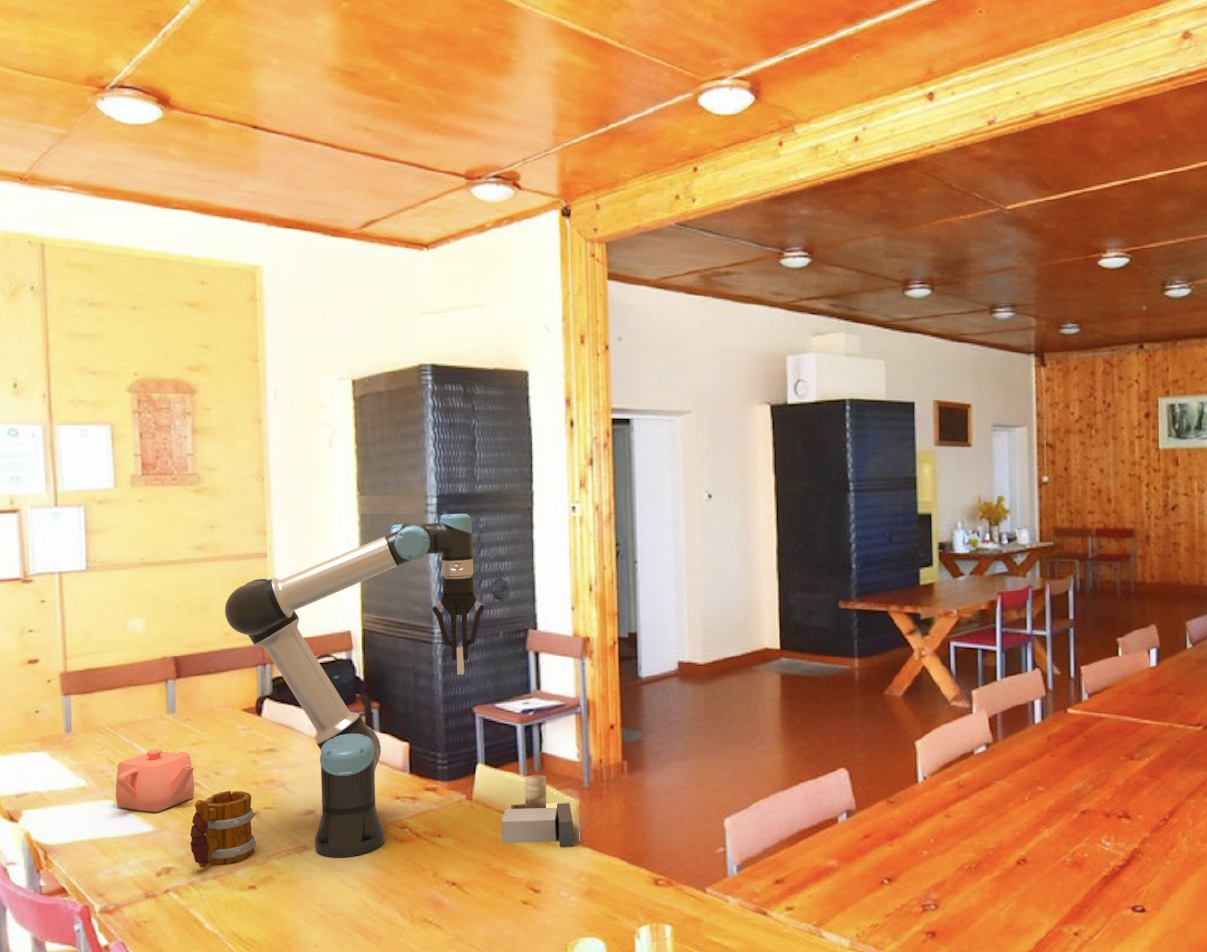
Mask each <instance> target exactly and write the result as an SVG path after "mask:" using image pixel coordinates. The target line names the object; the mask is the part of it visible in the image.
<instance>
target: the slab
mask: <svg viewBox="0 0 1207 952" xmlns="http://www.w3.org/2000/svg"><path fill="white" fill-rule="evenodd" d="M557 835H558V827H557V808H529V809H511V808H505V809H504V813H503V815H502V819H501V841H502V842H501V843H503V844H504V843H505V844H507V843H509V844H510V843H513V844H514V843H537V842H539V843H540V842H544V843H545V842H556V841H557Z"/></svg>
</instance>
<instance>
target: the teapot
mask: <svg viewBox="0 0 1207 952" xmlns="http://www.w3.org/2000/svg"><path fill="white" fill-rule="evenodd" d="M193 771H194V767H193V764H192V759H191V755H189V753H188V752H187V751H186V752H184V751H182V752H171V751H163V750H162V749H159V748H156V749H150V750H148V751H147V752H146V753H143V754H139V755H137V756H134V757H131V758H128V759H125V760H123V761H120V762H118V766H117V773H116V783H115V798H116V799H115V800H116V805H117V807H119V808H123V809H130V810H136V811H143V812H155V813H157V812H161V811H163V810H165V809H168V808H171V807H173V806H176V805H178V804H181V803H184V802H185V801H188V800H190V799H192V798H193V797H194V791H195V780H194V772H193Z"/></svg>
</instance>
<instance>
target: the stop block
mask: <svg viewBox="0 0 1207 952" xmlns="http://www.w3.org/2000/svg"><path fill="white" fill-rule="evenodd" d="M557 827H558V828H557V835H558V842H559V848H566V847H574V846H575V845H574V821H573V814H572V808H571V803H570V802H563V803H558V804H557Z"/></svg>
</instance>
